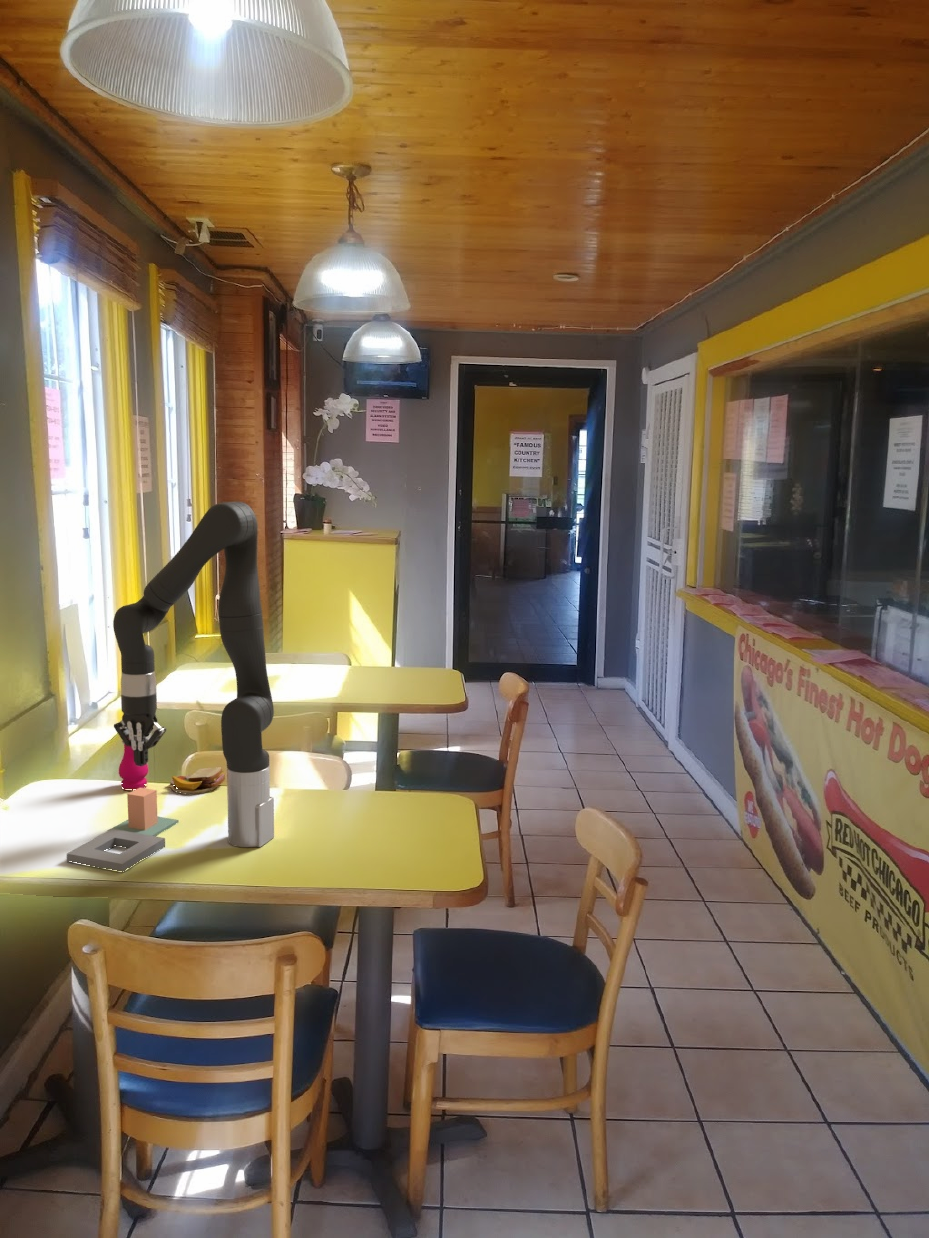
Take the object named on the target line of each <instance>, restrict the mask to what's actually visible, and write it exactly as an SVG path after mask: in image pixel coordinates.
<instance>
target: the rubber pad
mask: <svg viewBox="0 0 929 1238" xmlns="http://www.w3.org/2000/svg"><path fill="white" fill-rule="evenodd" d="M157 818H158V823H157V824H155V825H153V826H152V827H150V828H148V829H146V830H141V829H136V828H130V827H129V824H128V819H126V820H124V821H123V822H121V823H118V824H117V825H115V826H113V827H112V828H110V829H108V830H107V831H109V830H111V829H116V830H122V831H128V832H133V833H139V834H145V835H150V836H156V835H157V834H158V835H160V834H161V833H160V832H162V831H163V832H165V831H167V830H168V829H170V828H171V827H174V826H176V825H177V824H178V823H179V819H175V818H171V817H170V818H169V817H163V816H158V815H157ZM176 823H177V824H176ZM166 829H167V830H166ZM164 830H165V831H164ZM163 832H162V833H163ZM159 833H160V834H159ZM158 835H157V836H158ZM157 836H156V837H157Z"/></svg>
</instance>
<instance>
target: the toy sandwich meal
mask: <svg viewBox="0 0 929 1238" xmlns="http://www.w3.org/2000/svg"><path fill="white" fill-rule="evenodd" d="M225 779H226V776H225V774H224V771H223V769H222V767H221V766H217V767H206V768H198V769H197V770H196V771H194V772H193V773H192V774H187V775H184V776H183V775H182V776H175V775H173V776H172V777H171V780H170V781H169V783H170V784H169V787H170V789H171V790H173V791H174V792H175V791H177V792H176V793H178V792H181V793H186V794H185V795H199V794H204V793H208V792H212V791H213V790H215V789H216V788H217V787H218V786H220V785H221V784H223V782H225ZM173 785H175V786H173ZM176 787H177V788H178V789H176ZM181 793H180V794H181Z"/></svg>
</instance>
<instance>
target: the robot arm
mask: <svg viewBox="0 0 929 1238" xmlns="http://www.w3.org/2000/svg"><path fill="white" fill-rule="evenodd" d="M258 530H259V529H258V520H257V516H256V514H255V512H254V510H253V509H252V507H251V505H248V504H247V503H245V502H242V501H227V502H225V501H224V502H219V503H216V504H214V505H211V507H209V508H208V509H207V511H206V512H205V513H204V515H203V517H201V519H200V521H199V522H198V524H197V526H196V527H195V528H194V530H193V531H192V532H191V534H190V535H189V537H188V539H186V541H185V543H184V544H183V545H182V546H181V548H180V549H179V550H178V551H177V552H176V554H174V556H173V557H172V558H171V559H170V560H169V561H168V563H166V565H164V566H163V568H162V569H160V570H159V572H158V573H156V574H155V575H154V576H153V578H152V579H151V580H150V581H148V582H147V584H146V586H145V587H144V589H143V596H142V597H141V598H140V599H139V600H137V602H134V603H130V604H125V605H122V606H121V607H119V608H117V610H116V612H115V614H114V616H113V620H112V622H113V623H112V625H113V626H112V627H113V632H114V636H115V639H116V643H117V647H118V649H119V652H120V662H121V664H120V665H121V673H120V674H121V675H120V676H121V677H120V701H121V703H120V704H121V712H122V717H121V720H120V721H118V722H115V723H114V724H113V728H114V729H115V731H116V733H117V734H118V736H119V737H120V738H121V739H120V740H121V741H122V740H123V742H124V743H125V745H126V746H130V747H132V749H133V751H134V762H135V765H136V766H144V765H146V764H147V765H148V762H149V750H150V749H152V748H153V747H154V748H155V747H156V745H157V744H158V743H159V742H160V740H161V739H162V737H163V736H164V735H165V733H166V732H167V728H166V726H161V725H160V724H159V723H158V717H157V715H156V712H157V709H158V706H157V703H158V702H157V701H158V700H157V696H158V695H157V678H156V672H155V668H156V667H155V651H154V648H153V647H152V646H151V645H149V644H146V641H145V637H144V636H145V635H144V634H146V633H148V632H151V631H153V630H154V629H156V627H158V626H160V625H159V624H161V622H163V620H164V619H165V617H166V615H168V612H169V611H170V609H171V608H172V607H173V606H174V605H175V604H176V603H177V602H178V601H179V600H180V599H181V598H182V597H183V596H184V595H185V594H186V593H187V591H189V589H190V588H192V585H194V582H195V581H196V579H197V578H198V575H199V574H200V573H201V570H202V569H203V567H204V566H205V565H206V564H207V563H208V562H209V561H210V560H211V559H212V558H213V557H214V556H216V555H217V554H219V553H220V552H221V551H222V550H223V552H224V561H225V563H224V564H225V569H224V577H223V581H222V586H221V589H220V593H219V597H218V604H217V605H218V607H217V613H218V625H219V632H220V638H221V642H222V645H223V647H224V650H225V651H226V653H227V656H228V657H229V659H230V661H231V663H232V665H233V669H234V673H235V677H236V698H234V699H232V700H231V701H229V702H228V703H227V704H226V705H225V706H224V708H223V709H222V713H221V719H220V723H221V724H220V726H221V727H220V729H221V730H220V731H221V732H220V733H221V741H222V742H221V745H222V754H223V756H224V757H223V758H224V759H225V761H226V787H227V789H226V790H227V791H226V792H227V794H226V795H227V834H228V840H227V841H228V843H229V844H230V845H232V846H234V847H238V848H239V847H240V848H253V847H257V848H262V846H264V845H266V844H267V843H268V842H269V841H271V840H272V839H273V838H275V804H274V801H275V800H274V797H273V796H271V795H270V794H271V792H270V790H271V789H270V788H271V786H270V785H271V783H270V781H271V779H270V778H271V777H270V770H271V769H270V754H269V752H268V751H267V750H265V749H263V737H262V735H263V734H262V732H264V731H265V730H266V729H267V728H268V727H269V726H270V725H271V724H272V721H273V719H274V714H275V710H274V703H273V697H272V692H271V691H272V690H271V687H270V682H269V676H268V671H267V669H268V668H267V662H266V661H267V660H266V657H267V656H266V647H265V635H264V632H265V631H264V619H263V609H262V603H261V601H262V600H261V590H260V580H259V571H258V535H259V533H258V532H259V531H258ZM127 737H128V738H127Z"/></svg>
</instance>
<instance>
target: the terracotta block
mask: <svg viewBox="0 0 929 1238" xmlns="http://www.w3.org/2000/svg"><path fill="white" fill-rule="evenodd" d="M157 792H158V791H157V789H153V788H152V789H151V788H147V787H145V788H138V789H136V790H134V791H129V792H128V793H127V794H126V796H127V797H126V799H127V818H128V819H127V820H128V824H129V827H130V828H136V829H141V830H146V829H148V828H150V827H152V826H153V825H155V824H157V823H158V818H157V816H158V796H157V794H158V793H157Z"/></svg>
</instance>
